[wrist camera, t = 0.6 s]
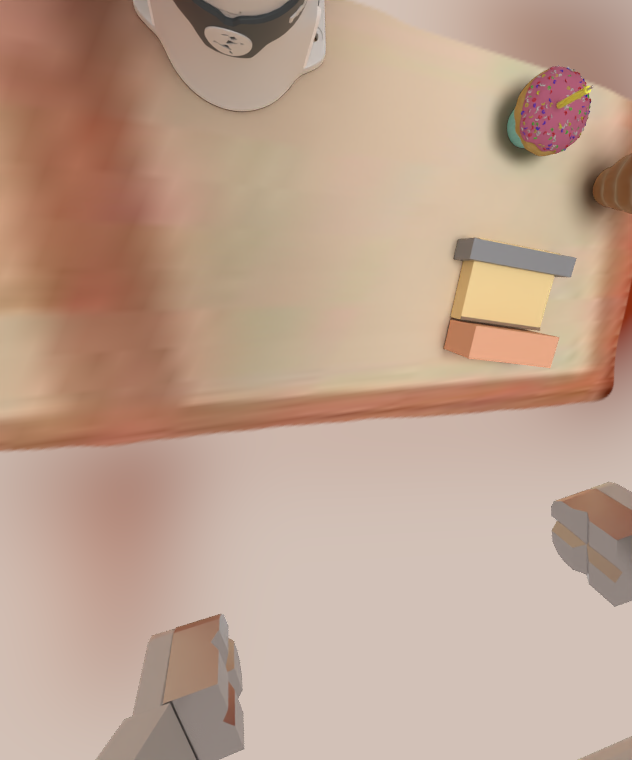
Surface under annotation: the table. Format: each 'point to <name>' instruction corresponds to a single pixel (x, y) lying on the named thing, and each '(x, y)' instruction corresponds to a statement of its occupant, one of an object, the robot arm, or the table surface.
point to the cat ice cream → (615, 186)
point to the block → (500, 344)
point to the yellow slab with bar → (505, 282)
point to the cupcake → (550, 112)
